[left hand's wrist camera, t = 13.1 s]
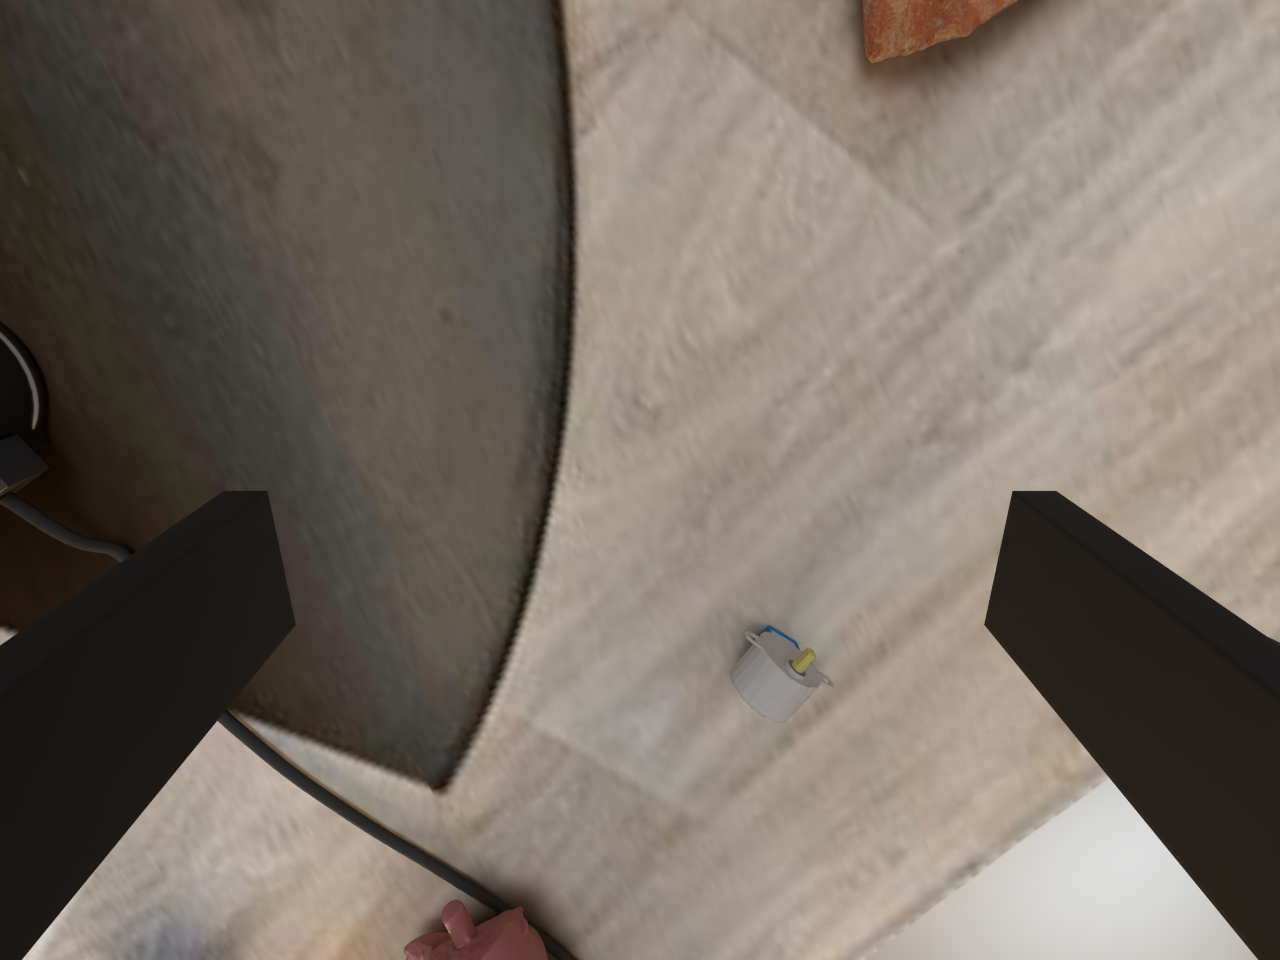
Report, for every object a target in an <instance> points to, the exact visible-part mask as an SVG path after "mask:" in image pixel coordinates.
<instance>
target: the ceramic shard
mask: <svg viewBox="0 0 1280 960" xmlns="http://www.w3.org/2000/svg"><path fill="white" fill-rule="evenodd" d="M1017 1H1018V0H862V7H863V41H864V49H865V53H866V56H867V58H868V60H869V61H870V62H871V63H873V62H880V61H882V60H884V59H887V58H893V57H895V56H898V55H903V56H908V55H910V54H911V53H913V52H915V51H921V50H924V49H926V48H928V47H930V46H932V45H934V44H937V43H940V42H944V41H947V40H951V39H954V38H958V37H966V36H969V35H970V34H971V33H972V32H973V31H974V30H975V29H976V28H977V27H978V26H979V25H981V24H984V23H986V22H987V21H989V20H990V19H991V18H992V17H993V16H995V15H996V14H998V13H999V12H1001V11H1002V10H1004V9H1006V8H1007V7H1009V6H1010V5H1012V4H1014V3H1015V2H1017Z"/></svg>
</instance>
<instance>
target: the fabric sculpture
mask: <svg viewBox="0 0 1280 960" xmlns="http://www.w3.org/2000/svg"><path fill="white" fill-rule="evenodd" d="M442 921H443V923H444V925H445V927H446V928H447V930H448V932H449V933H447V932H437V933H429V934H425V935H422V936H420V937H418V938H416V939H414V940H413V941H411V942H410V943H409V944H407V945H406V947H405V948H404V952H405V954H406V955H407V956H408V957H407V959H406V960H548V957H547V952H546V949H545V946H544V943H543V941H542V939H541V937H540V935H539V934H538V932H537V931H536V930H535V929H534V928H533V927H532V926H530V925H528V922H527V920H526V919H525V918H524V917H523V907H517V908H515V909H513V910H507V911H504V912H502V913H501V914H499V915H498V916H496V917H494V918H492V919H491V920H488V921H485V922H484V923H482V924H480V925H478V926H477V927H475V926H474V924H473V922H472V920H471V918H470V916H469V914H468V912H467V910H466V908H465V906H464V904H463V903H462V902H461V901H460V900H453V901H451V902H449V903H448V904H447V905H446V906H445V907H444V909H443V911H442Z"/></svg>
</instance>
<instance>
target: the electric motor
mask: <svg viewBox="0 0 1280 960" xmlns="http://www.w3.org/2000/svg"><path fill="white" fill-rule="evenodd" d="M750 635H751V636H753V637H754V638H755V640H756V641H755V640H753V639H752V638H751V637H750ZM745 636H746V638H747V639H748V640H749V641H750V642H751V643H753V644H752V645H751V647H750V648H749V649H748V650H747V651H746V653H745V654H744V655H743V656H742V657H741V659H740V660H739V661H738V662H737V663H736V664H735V666H734V667H733V668H732V670H731V678H732V681H733V684H734V686H735V688H736V690H737V691H738V693H739V694H740V695H741V697H742V698H743V699H744V700H745V701H746V702H747V703H748V704H749V705H750V706H751V707H752V708H753V709H754V710H755V711H757V712H758V713H759V714H761V715H762V716H764V717H766V718H768V719H770V720H772V721H775V722H786V721H787V720H788V719H789V718H790V717H791V716H792V715H793V714H794V713H795V712H796V711H797V709H798V708H799V707H800V706H801V705H802V704H803V703H804V702H805V701H806V700H807V699H808V698H809V696H810V695H811V694H812V693H813V692H814V691H815V690H816V689H817V688H818V687H819V686H820V684H822V685H824V686H826V687H828V688H830V689H831V688H833V687H834V685H833V682H832V681H831V680H830V679H829V678H828V677H827V676H826V675H824V674H822V673H821V672H819V671H817V670H816V668H815V667H814V666H813V664H812V663H811V662H812V661H813V660H814V658H815V657H816V656H815V654H814V651H813V650H812V649H810V648H808V647H807V648H806V649H805V650H804V651H803V652H801V651H800V650H799V647H798V644H797V643H796V642H795V641H794V640H792V639H791V638H789V637H787V636H786V635H784V634H782V633H781V632H779V631H777V630H775V629H774V628H772V627H770V626H768V627H767V629H766V630H765V631H764V632H763V633H762V634H761V635H760V636H757V635H756V634H754V633H753V632H751V631H746V632H745ZM823 678H824V679H826V680H827V681H828V683H826V682H825V680H824V679H823Z"/></svg>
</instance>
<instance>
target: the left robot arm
mask: <svg viewBox="0 0 1280 960" xmlns="http://www.w3.org/2000/svg"><path fill="white" fill-rule="evenodd" d="M295 625H296V624H295V619H294V614H293V610H292V605H291V600H290V595H289V591H288V586H287V581H286V577H285V572H284V567H283V562H282V558H281V553H280V548H279V544H278V539H277V534H276V529H275V525H274V520H273V515H272V511H271V506H270V501H269V496H268V492H267V491H223V492H222V493H220V494H219V495H217V496H216V497H215V498H213V499H212V500H210V501H209V502H207V503H206V504H204V505H203V506H201V507H200V508H199V509H197V510H196V511H194V512H193V513H191V514H190V515H188V516H187V517H186V518H184V519H183V520H181V521H180V522H178V523H177V524H175V525H174V526H173V527H171V528H170V529H168V530H167V531H165V532H164V533H162V534H161V535H160V536H158V537H157V538H155V539H154V540H152V541H151V542H149V543H148V544H146V545H145V546H144V547H142V548H141V549H139V550H138V551H136V552H135V553H133V554H132V555H131V556H129V557H128V558H126V559H125V560H123V561H122V562H120V563H119V564H118V565H116V566H115V567H113V568H112V569H110V570H109V571H107V572H106V573H104V574H103V575H102V576H100V577H99V578H97V579H96V580H94V581H93V582H91V583H90V584H89V585H87V586H86V587H84V588H83V589H81V590H80V591H78V592H77V593H76V594H74V595H73V596H71V597H70V598H68V599H67V600H65V601H64V602H63V603H61V604H60V605H58V606H57V607H55V608H54V609H52V610H51V611H49V612H48V613H47V614H45V615H44V616H42V617H41V618H39V619H38V620H36V621H35V622H34V623H32V624H31V625H29V626H28V627H26V628H25V629H23V630H22V631H21V632H19V633H18V634H16V635H15V636H13V637H12V638H10V639H9V640H7V641H6V642H5V643H3V644H2V645H0V960H22V959H23V958H24V956H25V955H26V954H27V953H28V952H29V950H30V949H31V948H32V947H33V945H34V944H35V943H36V942H37V941H38V939H39V938H40V937H41V936H42V934H43V933H44V932H45V931H46V930H47V928H48V927H49V926H50V925H51V923H52V922H53V921H54V920H55V918H56V917H57V916H58V915H59V914H60V912H61V911H62V910H63V909H64V907H65V906H66V905H67V904H68V903H69V901H70V900H71V899H72V898H73V896H74V895H75V894H76V893H77V892H78V890H79V889H80V888H81V887H82V885H83V884H84V883H85V882H86V881H87V879H88V878H89V877H90V876H91V874H92V873H93V872H94V871H95V870H96V868H97V867H98V866H99V865H100V863H101V862H102V861H103V860H104V859H105V857H106V856H107V855H108V854H109V852H110V851H111V850H112V849H113V848H114V846H115V845H116V844H117V843H118V841H119V840H120V839H121V838H122V837H123V835H124V834H125V833H126V832H127V830H128V829H129V828H130V827H131V826H132V824H133V823H134V822H135V821H136V819H137V818H138V817H139V816H140V815H141V813H142V812H143V811H144V810H145V808H146V807H147V806H148V805H149V804H150V802H151V801H152V800H153V799H154V797H155V796H156V795H157V794H158V793H159V791H160V790H161V789H162V788H163V786H164V785H165V784H166V783H167V782H168V780H169V779H170V778H171V777H172V775H173V774H174V773H175V772H176V771H177V769H178V768H179V767H180V766H181V764H182V763H183V762H184V761H185V759H186V758H187V757H188V756H189V755H190V753H191V752H192V751H193V750H194V748H195V747H196V746H197V745H198V744H199V742H200V741H201V740H202V739H203V737H204V736H205V735H206V734H207V733H208V731H209V730H210V729H211V728H212V726H213V725H214V724H215V723H216V722H217V720H218V719H219V718H220V717H221V715H222V714H223V713H224V712H225V711H226V709H227V708H228V707H229V706H230V704H231V703H232V702H233V701H234V700H235V698H236V697H237V696H238V695H239V693H240V692H241V691H242V690H243V689H244V687H245V686H246V685H247V684H248V682H249V681H250V680H251V679H252V678H253V676H254V675H255V674H256V673H257V671H258V670H259V669H260V668H261V667H262V665H263V664H264V663H265V662H266V660H267V659H268V658H269V657H270V656H271V654H272V653H273V652H274V651H275V649H276V648H277V647H278V646H279V645H280V643H281V642H282V641H283V640H284V638H285V637H286V636H287V635H288V634H289V632H290V631H291V630H292V629H293V627H294V626H295ZM984 625H985V626H986V627H987V629H988V630H989V631H990V632H991V634H992V635H993V636H994V637H995V638H996V640H997V641H998V642H999V643H1000V645H1001V646H1002V647H1003V648H1004V649H1005V651H1006V652H1007V653H1008V654H1009V656H1010V657H1011V658H1012V659H1013V660H1014V662H1015V663H1016V664H1017V665H1018V667H1019V668H1020V669H1021V670H1022V671H1023V673H1024V674H1025V675H1026V676H1027V678H1028V679H1029V680H1030V681H1031V682H1032V684H1033V685H1034V686H1035V687H1036V689H1037V690H1038V691H1039V692H1040V693H1041V695H1042V696H1043V697H1044V698H1045V700H1046V701H1047V702H1048V703H1049V704H1050V706H1051V707H1052V708H1053V709H1054V711H1055V712H1056V713H1057V714H1058V715H1059V717H1060V718H1061V719H1062V720H1063V722H1064V723H1065V724H1066V725H1067V726H1068V728H1069V729H1070V730H1071V731H1072V733H1073V734H1074V735H1075V736H1076V737H1077V739H1078V740H1079V741H1080V742H1081V744H1082V745H1083V746H1084V747H1085V748H1086V750H1087V751H1088V752H1089V753H1090V755H1091V756H1092V757H1093V758H1094V759H1095V761H1096V762H1097V763H1098V764H1099V766H1100V767H1101V768H1102V769H1103V771H1104V772H1105V773H1106V774H1107V775H1108V777H1109V778H1110V779H1111V780H1112V782H1113V783H1114V784H1115V785H1116V786H1117V788H1118V789H1119V790H1120V791H1121V792H1122V794H1123V795H1124V796H1125V797H1126V799H1127V800H1128V801H1129V802H1130V804H1131V805H1132V806H1133V807H1134V808H1135V810H1136V811H1137V812H1138V813H1139V815H1140V816H1141V817H1142V818H1143V819H1144V821H1145V822H1146V823H1147V824H1148V826H1149V827H1150V828H1151V829H1152V830H1153V832H1154V833H1155V834H1156V835H1157V837H1158V838H1159V839H1160V840H1161V841H1162V843H1163V844H1164V845H1165V846H1166V847H1167V849H1168V850H1169V851H1170V852H1171V854H1172V855H1173V856H1174V857H1175V859H1176V860H1177V861H1178V862H1179V863H1180V865H1181V866H1182V867H1183V868H1184V870H1185V871H1186V872H1187V873H1188V874H1189V876H1190V877H1191V878H1192V879H1193V881H1194V882H1195V883H1196V884H1197V885H1198V887H1199V888H1200V889H1201V890H1202V892H1203V893H1204V894H1205V895H1206V896H1207V898H1208V899H1209V900H1210V901H1211V902H1212V904H1213V905H1214V906H1215V907H1216V909H1217V910H1218V911H1219V912H1220V914H1221V915H1222V916H1223V917H1224V918H1225V920H1226V921H1227V922H1228V923H1229V925H1230V926H1231V927H1232V928H1233V930H1234V931H1235V932H1236V933H1237V934H1238V936H1239V937H1240V938H1241V939H1242V940H1243V942H1244V943H1245V944H1246V945H1247V947H1248V948H1249V949H1250V950H1251V952H1252V953H1253V954H1254V955H1255V956H1256V958H1257V959H1258V960H1280V643H1279V642H1277V641H1275V640H1273V639H1271V638H1269V637H1267V636H1265V635H1264V634H1262V633H1261V632H1259V631H1258V630H1257V629H1255V628H1254V627H1252V626H1251V625H1249V624H1248V623H1246V622H1245V621H1244V620H1242V619H1241V618H1239V617H1238V616H1236V615H1235V614H1233V613H1232V612H1231V611H1229V610H1228V609H1226V608H1225V607H1223V606H1222V605H1220V604H1219V603H1217V602H1216V601H1215V600H1213V599H1212V598H1210V597H1209V596H1207V595H1206V594H1204V593H1203V592H1202V591H1200V590H1199V589H1197V588H1196V587H1194V586H1193V585H1191V584H1190V583H1189V582H1187V581H1186V580H1184V579H1183V578H1181V577H1180V576H1178V575H1177V574H1176V573H1174V572H1173V571H1171V570H1170V569H1168V568H1167V567H1165V566H1164V565H1162V564H1161V563H1160V562H1158V561H1157V560H1155V559H1154V558H1152V557H1151V556H1149V555H1148V554H1147V553H1145V552H1144V551H1142V550H1141V549H1139V548H1138V547H1136V546H1135V545H1134V544H1132V543H1131V542H1129V541H1128V540H1126V539H1125V538H1123V537H1122V536H1120V535H1119V534H1118V533H1116V532H1115V531H1113V530H1112V529H1110V528H1109V527H1107V526H1106V525H1105V524H1103V523H1102V522H1100V521H1099V520H1097V519H1096V518H1094V517H1093V516H1092V515H1090V514H1089V513H1087V512H1086V511H1084V510H1083V509H1081V508H1080V507H1079V506H1077V505H1076V504H1074V503H1073V502H1071V501H1070V500H1068V499H1067V498H1065V497H1064V496H1063V495H1061V494H1060V493H1058V492H1057V491H1013V492H1012V496H1011V501H1010V506H1009V511H1008V515H1007V520H1006V525H1005V529H1004V534H1003V539H1002V544H1001V548H1000V553H999V558H998V562H997V567H996V572H995V577H994V581H993V586H992V591H991V595H990V600H989V605H988V610H987V614H986V619H985V624H984Z"/></svg>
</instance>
